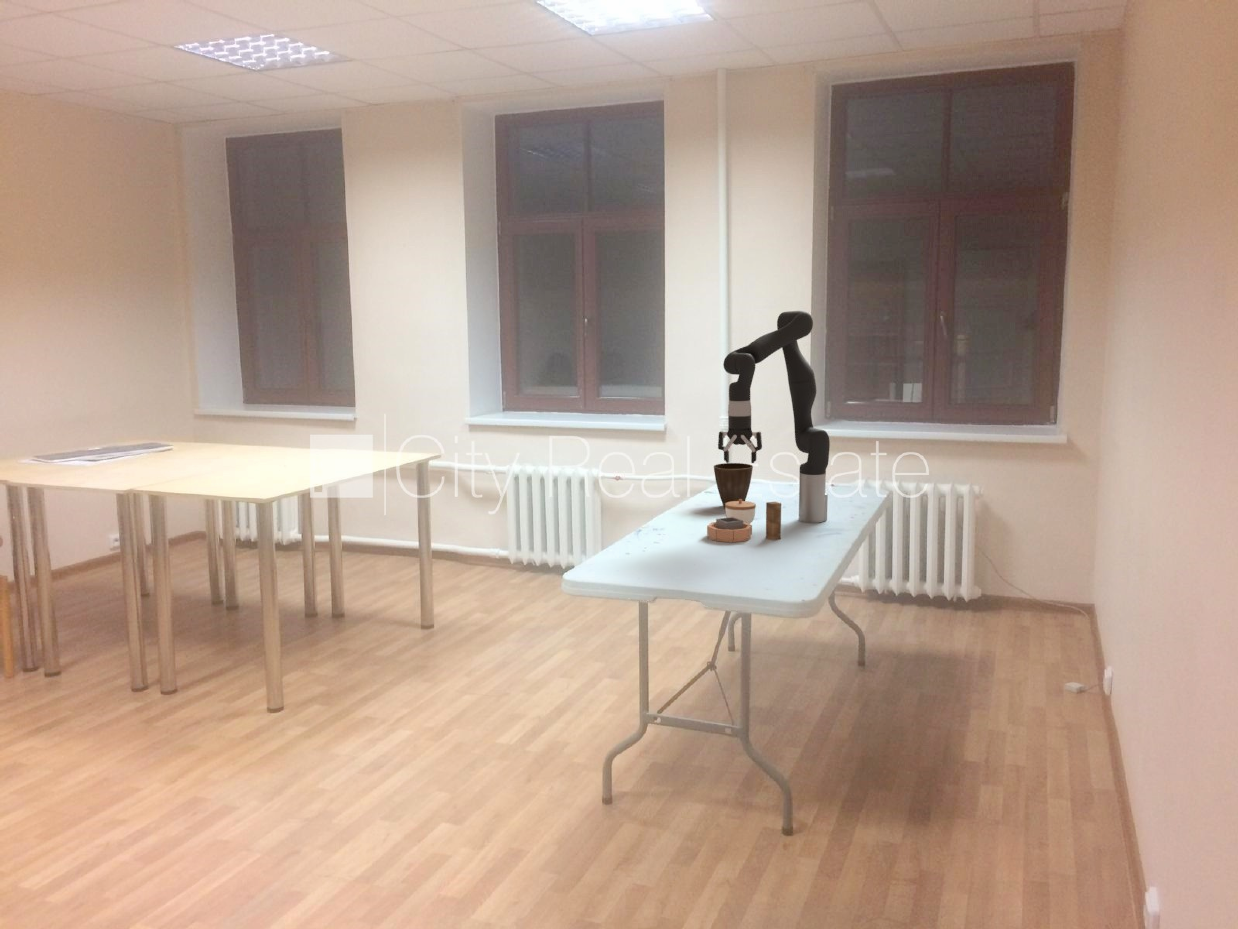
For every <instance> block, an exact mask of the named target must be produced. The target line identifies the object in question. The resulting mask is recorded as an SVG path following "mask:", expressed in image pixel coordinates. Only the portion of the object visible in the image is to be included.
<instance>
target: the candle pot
mask: <svg viewBox="0 0 1238 929" xmlns="http://www.w3.org/2000/svg"><path fill="white" fill-rule="evenodd" d="M706 534H707V536H708V539H710V540H711V541H715V542H718V543H719V542H720V543H741V542H747V541H749V540H751V538H752V537H751V536H752V535H753V525H752V524H751V523H750V524H747V523H745V522H743V520H740V519H737V518H734V517H729V518H726V517H721V518H720V517H719V518H716V519H715V522H713V521H711V522H710V523H709V524H708V525H707V526H706Z"/></svg>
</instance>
